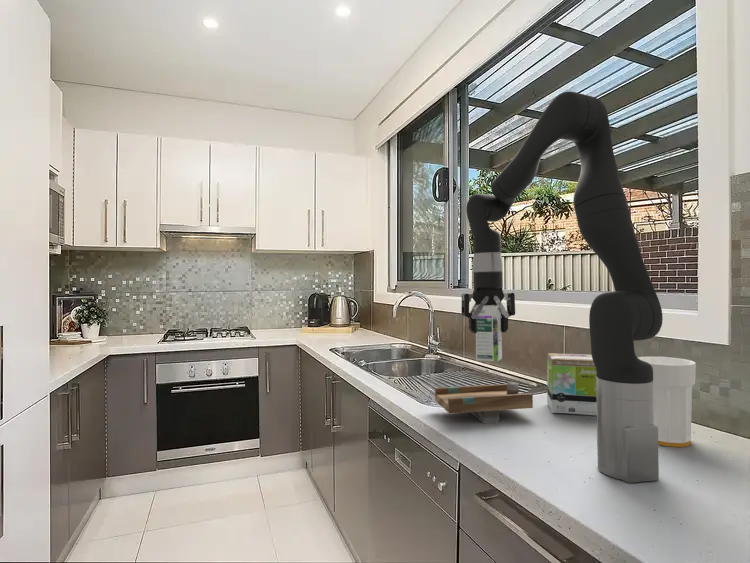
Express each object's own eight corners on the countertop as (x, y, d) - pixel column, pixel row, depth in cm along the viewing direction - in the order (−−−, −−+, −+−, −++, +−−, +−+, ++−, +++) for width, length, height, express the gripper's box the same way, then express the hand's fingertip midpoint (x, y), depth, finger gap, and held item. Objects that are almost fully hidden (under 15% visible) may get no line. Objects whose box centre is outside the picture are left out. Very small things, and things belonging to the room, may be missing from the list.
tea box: (551, 414, 120) (551, 358, 120) (546, 404, 130) (546, 352, 129) (614, 417, 116) (613, 359, 116) (604, 406, 126) (603, 353, 126)
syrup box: (475, 361, 118) (474, 305, 118) (481, 357, 124) (480, 304, 124) (497, 362, 116) (496, 305, 116) (502, 358, 121) (501, 304, 121)
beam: (533, 419, 115) (532, 388, 115) (449, 425, 112) (449, 393, 112) (511, 406, 127) (510, 378, 127) (435, 411, 124) (434, 382, 124)
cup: (627, 439, 101) (626, 360, 101) (647, 427, 108) (646, 354, 108) (687, 453, 92) (686, 367, 92) (704, 440, 99) (703, 360, 99)
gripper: (466, 270, 115) (467, 335, 115) (519, 269, 117) (520, 333, 117) (456, 271, 122) (457, 332, 122) (506, 270, 124) (507, 330, 125)
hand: (488, 332), depth 120 cm, fingers closed on syrup box, 7 cm apart
